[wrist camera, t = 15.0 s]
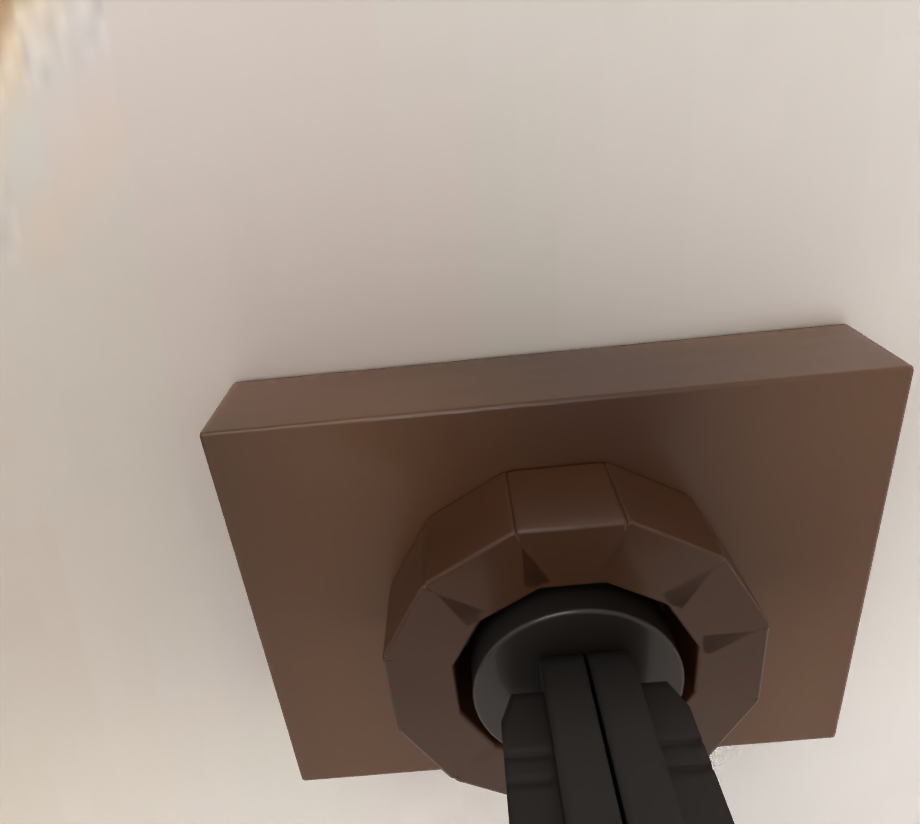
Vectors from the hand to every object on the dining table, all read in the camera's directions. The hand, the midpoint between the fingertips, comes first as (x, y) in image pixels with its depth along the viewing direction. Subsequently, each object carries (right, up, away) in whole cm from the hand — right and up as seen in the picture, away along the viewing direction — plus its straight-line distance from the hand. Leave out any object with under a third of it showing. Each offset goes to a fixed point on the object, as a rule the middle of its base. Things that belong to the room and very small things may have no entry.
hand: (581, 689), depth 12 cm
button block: (0, +2, +4) cm, 4 cm away
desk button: (0, +1, +2) cm, 2 cm away
